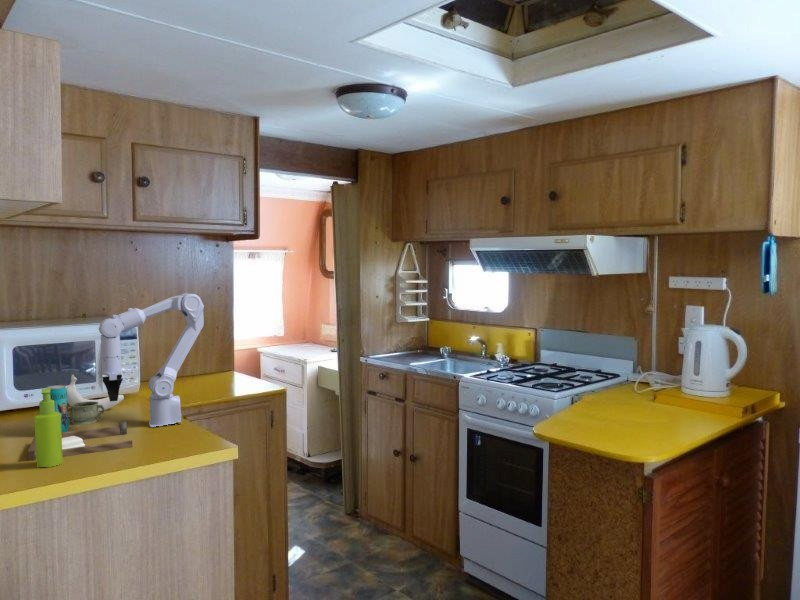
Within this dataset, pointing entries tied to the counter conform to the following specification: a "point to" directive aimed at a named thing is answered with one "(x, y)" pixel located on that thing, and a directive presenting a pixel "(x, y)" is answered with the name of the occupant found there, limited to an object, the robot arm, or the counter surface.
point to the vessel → (85, 412)
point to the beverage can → (60, 404)
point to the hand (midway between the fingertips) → (113, 399)
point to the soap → (72, 442)
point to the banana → (76, 398)
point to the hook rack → (87, 435)
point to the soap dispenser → (48, 433)
